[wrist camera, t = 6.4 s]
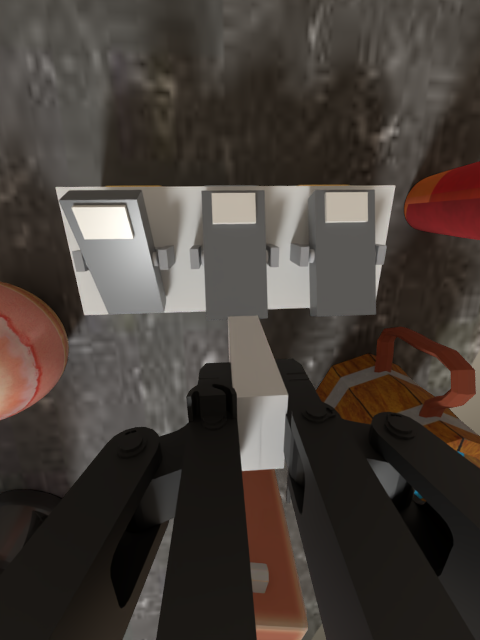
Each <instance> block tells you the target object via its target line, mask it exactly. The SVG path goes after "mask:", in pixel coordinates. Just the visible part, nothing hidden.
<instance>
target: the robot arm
mask: <svg viewBox="0 0 480 640" xmlns="http://www.w3.org/2000/svg"><path fill="white" fill-rule="evenodd" d="M228 337H229V362H227V363H206V364H205V365H204V366H203V367H202V368H201V369H200V372H199V380H198V385H197V386H195V387H194V388H192V389H191V390H190V391H189V393H188V395H187V397H186V398H187V408H188V418H189V423H188V424H187V425H185V426H184V427H183V428H181V429H179V430H177V431H175V432H172V433H170V434H166V435H163V436H160V437H159V436H158V434H157V433H156V432H155V431H154V430H153V429H150V428H146V427H135V428H131V429H128V430H125V431H123V432H121V433H119V434H117V435H116V436H114V437H113V438H112V439H111V440H110V441H109V442H108V443H107V444H106V445H105V446H104V448H103V449H102V450H101V451H100V453H99V454H98V455H97V456H96V458H95V459H94V460H93V461H92V463H91V464H90V465H89V466H88V467H87V469H86V470H85V471H84V472H83V474H82V475H81V476H80V477H79V479H78V480H77V481H76V482H75V484H74V485H73V486H72V487H71V488H70V490H69V491H68V492H67V493H66V495H65V496H64V497H63V498H62V499H60V498H58V497H56V496H54V495H51V494H48V493H44V492H40V491H33V490H15V491H9V492H5V493H2V494H0V640H123V637H124V635H125V632H126V629H127V627H128V624H129V622H130V619H131V617H132V614H133V612H134V609H135V607H136V604H137V602H138V599H139V597H140V594H141V592H142V589H143V587H144V584H145V581H146V579H147V576H148V574H149V571H150V569H151V566H152V564H153V561H154V559H155V556H156V554H157V551H158V549H159V546H160V544H161V541H162V539H163V536H164V533H165V531H166V528H167V526H168V523H169V520H170V519H172V518H174V525H173V531H172V538H171V545H170V551H169V558H168V565H167V571H166V578H165V584H164V591H163V598H162V604H161V611H160V618H159V624H158V631H157V638H156V640H257V635H256V623H255V612H254V601H253V590H252V578H251V567H250V556H249V545H248V534H247V522H246V511H245V500H244V489H243V477H242V471H250V470H265V469H280V468H284V457H285V460H286V463H287V467H288V477H287V491H286V503H290V498H291V500H292V504H293V508H294V512H295V516H296V520H297V524H298V528H299V532H300V536H301V540H302V544H303V548H304V552H305V556H306V560H307V564H308V568H309V572H310V576H311V580H312V584H313V588H314V592H315V596H316V600H317V604H318V608H319V612H320V616H321V620H322V624H323V628H324V632H325V635H326V640H480V468H478V467H477V466H476V465H474V464H473V463H472V462H470V461H469V460H468V459H466V458H465V457H464V456H462V455H461V454H460V453H458V452H457V451H456V450H454V449H453V448H452V447H450V446H449V445H448V444H446V443H445V442H444V441H442V440H441V439H440V438H438V437H437V436H436V435H434V434H433V433H432V432H430V431H429V430H428V429H427V428H425V427H424V426H423V425H421V424H420V423H418V422H417V421H415V420H413V419H412V418H410V417H408V416H405V415H402V414H399V413H394V412H380V413H378V414H376V415H374V417H373V419H372V421H371V424H365V423H359V422H354V421H349V420H345V419H343V418H341V416H340V414H339V413H338V412H337V411H336V410H335V409H334V408H333V407H332V406H330V405H328V404H327V403H324V402H322V401H321V399H320V397H319V396H318V394H317V392H316V390H315V388H314V387H313V385H312V383H311V381H310V380H309V378H308V376H307V374H306V372H305V370H304V369H303V367H302V365H301V364H300V363H298V362H297V361H295V360H294V359H274V357H273V354H272V351H271V349H270V346H269V344H268V341H267V338H266V336H265V333H264V331H263V328H262V325H261V323H260V320H259V318H258V316H230V317H228ZM415 490H416V491H417V492H418V493H419V494H420V495H421V496H422V497H423V498H424V499H425V500H426V502H425V501H422V500H421V499H420V498H419V497H417V496H416V495H415V493H414V492H415Z"/></svg>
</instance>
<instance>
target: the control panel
mask: <svg viewBox="0 0 480 640" xmlns="http://www.w3.org/2000/svg"><path fill="white" fill-rule="evenodd" d="M242 477H243V489H244V500H245V511H246V522H247V534H248V545H249V556H250V567H251V578H252V590H253V601H254V612H255V623H256V635H257V640H301V639H302V638H303V636H304V635H305V633H306V631H307V630H308V623H307V618H306V615H307V610H306V608H305V604H304V600H303V595H302V591H301V586H300V581H299V577H298V572H297V568H296V563H295V559H294V554H293V549H292V545H291V540H290V536H289V531H288V527H287V522H286V517H285V513H284V508H283V504H282V499H281V496H280V493H279V488H278V484H277V479H276V475H275V470H274V469H265V470H250V471H242Z"/></svg>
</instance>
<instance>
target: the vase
mask: <svg viewBox="0 0 480 640" xmlns="http://www.w3.org/2000/svg"><path fill="white" fill-rule="evenodd" d="M68 354H69V344H68V338H67V334H66V331H65V328H64V326H63V324H62V322H61V320H60V319H59V317H58V316H57V314H56V313H55V312H54V311H53V310H52V308H51V307H49V306H48V305H47V304H46V303H45V302H44V301H43V300H41V299H40V298H38V297H37V296H35V295H34V294H32V293H30V292H28V291H26V290H25V289H22V288H20V287H17V286H15V285H12V284H8V283H4V282H0V420H2V419H5V418H8V417H10V416H13V415H15V414H17V413H19V412H21V411H23V410H25V409H27V408H29V407H30V406H32V405H33V404H35V403H36V402H38V401H39V400H40V399H42V398H43V397H44V396H45V395H46V394H48V393H49V392H50V390H51V389H52V388H53V387H54V386H55V385H56V383H57V382H58V381H59V379H60V378H61V376H62V374H63V372H64V370H65V367H66V364H67V361H68Z"/></svg>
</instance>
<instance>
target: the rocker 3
mask: <svg viewBox="0 0 480 640" xmlns="http://www.w3.org/2000/svg"><path fill="white" fill-rule="evenodd" d="M308 232H309V260H308V262H309V282H310V316H316V317H320V316H349V315H376V262H375V256H376V251H375V190H314V192H313V193H312V194H311V196H310V197H309V198H308Z"/></svg>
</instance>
